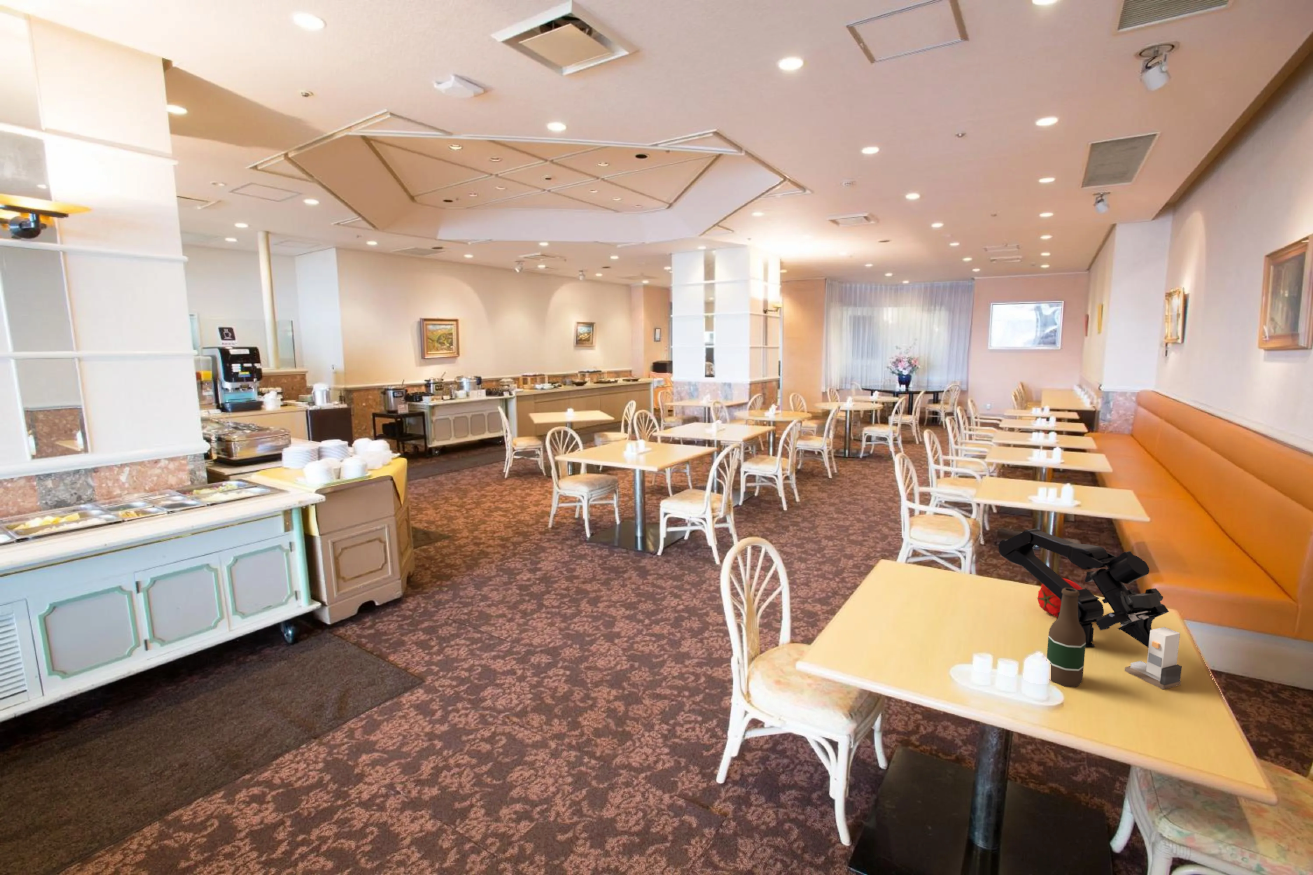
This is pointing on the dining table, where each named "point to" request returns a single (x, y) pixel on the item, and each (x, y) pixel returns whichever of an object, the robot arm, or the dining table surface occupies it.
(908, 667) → the dining table surface
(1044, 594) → the tomato
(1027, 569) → the robot arm
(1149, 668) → the switch module
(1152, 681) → the rail board
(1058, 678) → the beer bottle
